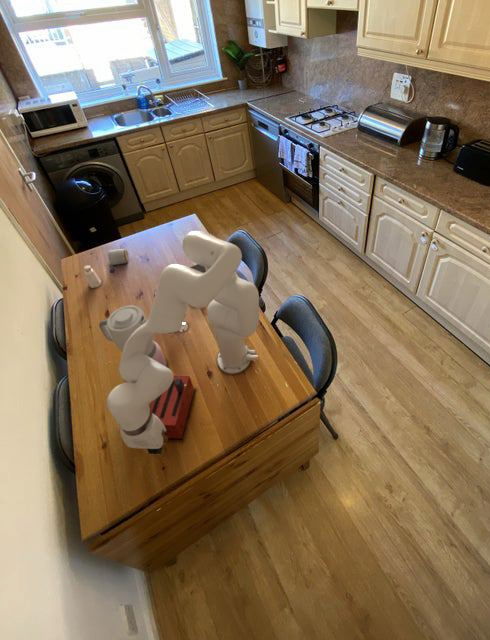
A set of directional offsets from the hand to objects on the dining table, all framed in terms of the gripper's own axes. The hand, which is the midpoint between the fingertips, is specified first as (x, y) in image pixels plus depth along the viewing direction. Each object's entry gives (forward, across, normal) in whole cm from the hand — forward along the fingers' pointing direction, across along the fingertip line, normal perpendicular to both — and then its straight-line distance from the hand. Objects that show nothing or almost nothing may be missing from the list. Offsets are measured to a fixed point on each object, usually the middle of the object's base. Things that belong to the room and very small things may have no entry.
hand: (154, 448), depth 100 cm
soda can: (+7, -16, +57) cm, 60 cm away
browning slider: (-3, +4, +17) cm, 17 cm away
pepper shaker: (+7, -56, +72) cm, 92 cm away
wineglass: (+7, -7, +48) cm, 49 cm away
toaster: (+7, 0, +13) cm, 15 cm away
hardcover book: (+7, -5, +74) cm, 74 cm away
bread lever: (+1, 0, +2) cm, 2 cm away
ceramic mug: (+7, -51, +89) cm, 103 cm away
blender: (+7, -15, +28) cm, 33 cm away
